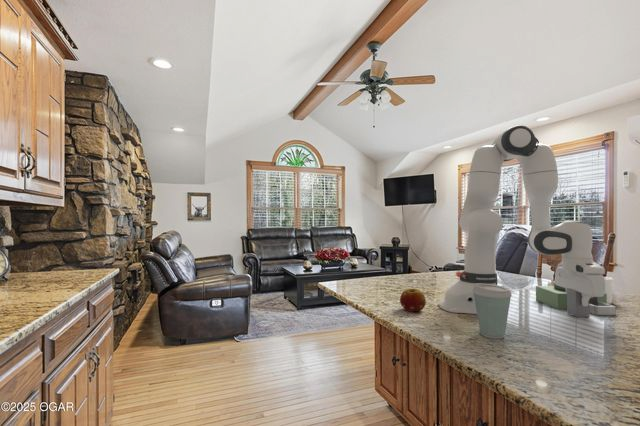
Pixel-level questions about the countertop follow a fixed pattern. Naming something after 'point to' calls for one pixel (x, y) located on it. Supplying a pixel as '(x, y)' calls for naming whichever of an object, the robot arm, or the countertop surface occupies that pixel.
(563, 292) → the green and grey base
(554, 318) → the countertop surface
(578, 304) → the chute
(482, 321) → the disposable coffee cup
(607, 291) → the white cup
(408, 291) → the fruit
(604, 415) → the countertop surface
